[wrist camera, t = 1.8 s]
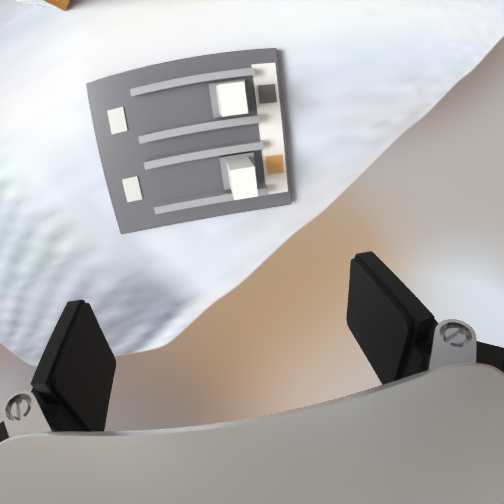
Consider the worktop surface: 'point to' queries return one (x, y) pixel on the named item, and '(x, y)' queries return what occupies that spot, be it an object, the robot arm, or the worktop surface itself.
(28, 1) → the small box
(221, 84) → the switch
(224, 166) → the switch
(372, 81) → the worktop surface
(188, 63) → the switch unit
